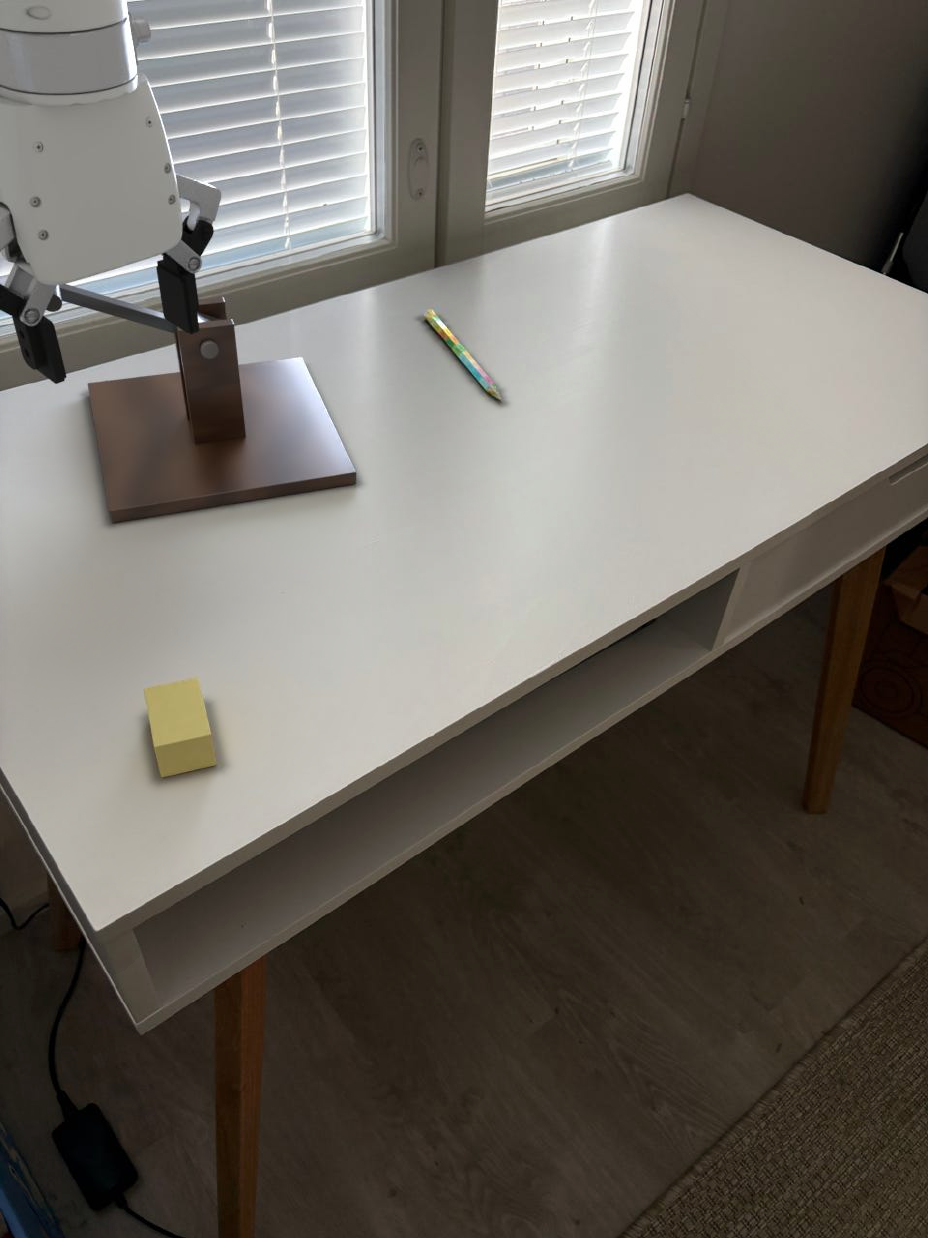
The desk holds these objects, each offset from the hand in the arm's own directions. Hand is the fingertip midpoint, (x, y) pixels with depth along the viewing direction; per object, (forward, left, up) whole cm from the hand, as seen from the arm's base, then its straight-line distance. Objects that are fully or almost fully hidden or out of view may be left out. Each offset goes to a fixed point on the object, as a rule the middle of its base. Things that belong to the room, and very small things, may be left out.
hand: (118, 348), depth 65 cm
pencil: (+33, +24, -18) cm, 44 cm away
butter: (-1, -18, -18) cm, 26 cm away
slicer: (+7, +16, -18) cm, 25 cm away
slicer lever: (+1, +15, -6) cm, 17 cm away
